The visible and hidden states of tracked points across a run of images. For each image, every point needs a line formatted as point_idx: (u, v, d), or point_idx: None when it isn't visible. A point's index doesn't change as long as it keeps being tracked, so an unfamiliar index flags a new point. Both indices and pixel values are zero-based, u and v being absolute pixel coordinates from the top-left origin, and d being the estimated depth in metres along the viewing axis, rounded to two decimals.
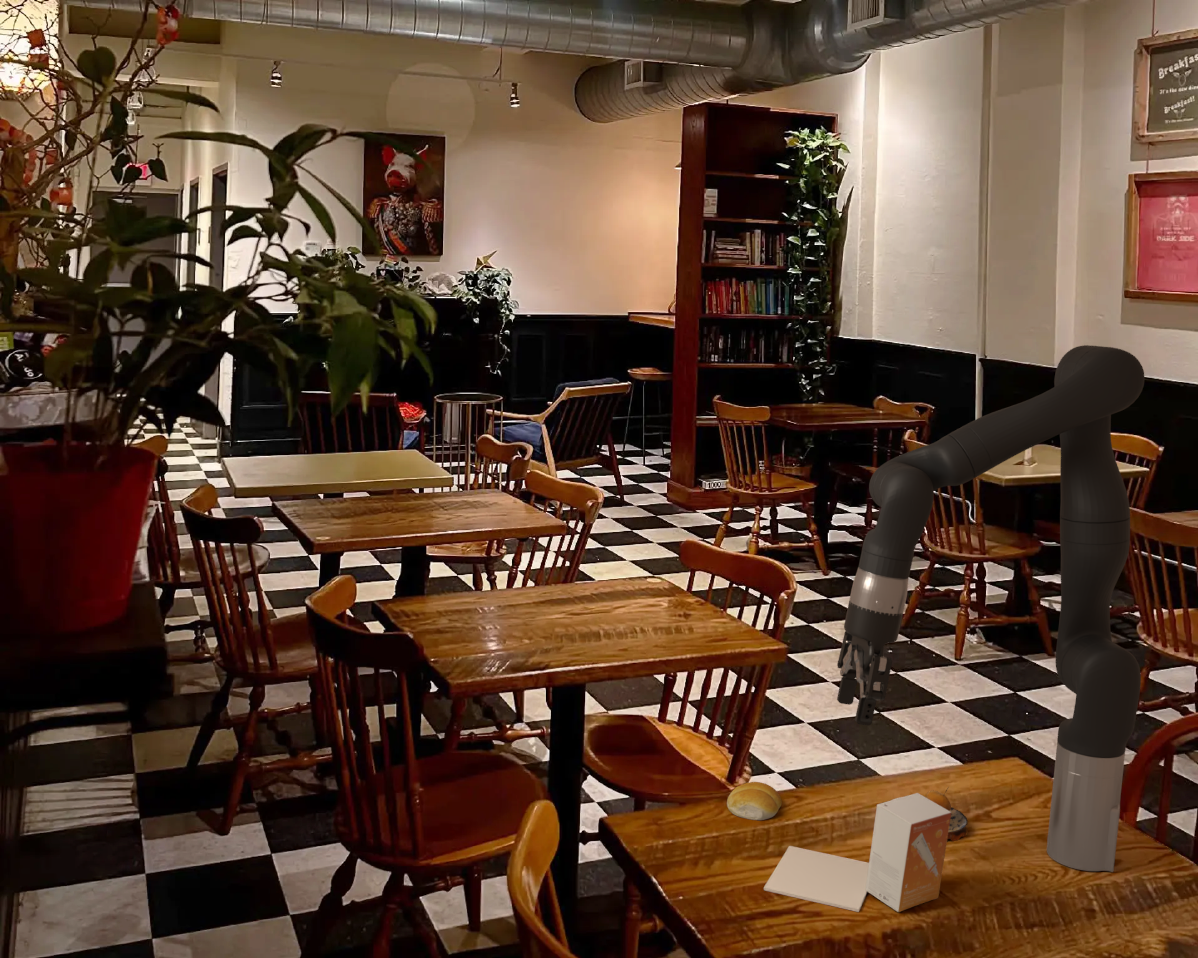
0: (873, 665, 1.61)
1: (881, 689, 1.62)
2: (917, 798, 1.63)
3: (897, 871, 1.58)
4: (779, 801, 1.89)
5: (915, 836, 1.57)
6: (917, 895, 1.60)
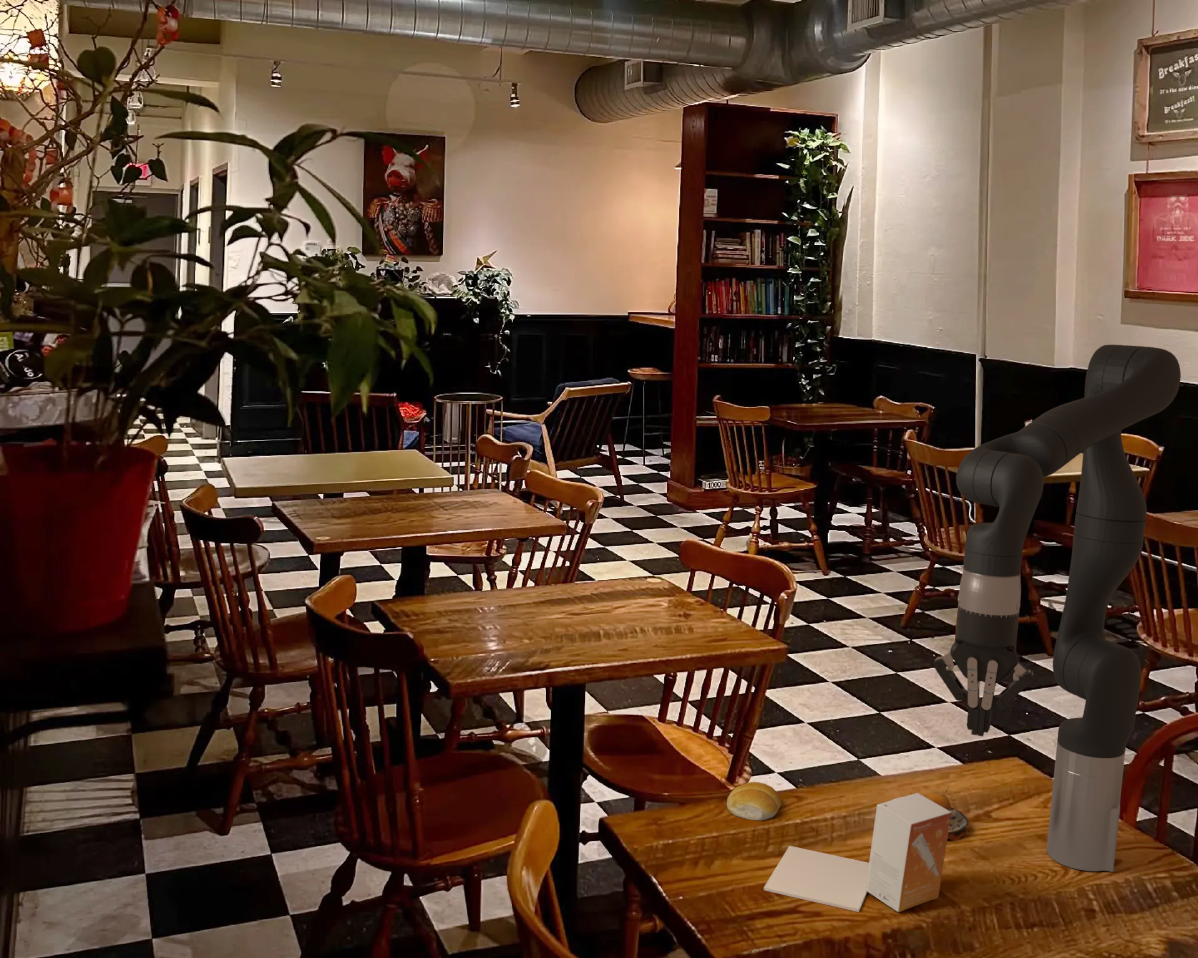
0: (1025, 684, 1.52)
1: None
2: (917, 798, 1.63)
3: (897, 871, 1.58)
4: (779, 801, 1.89)
5: (915, 836, 1.57)
6: (917, 895, 1.60)
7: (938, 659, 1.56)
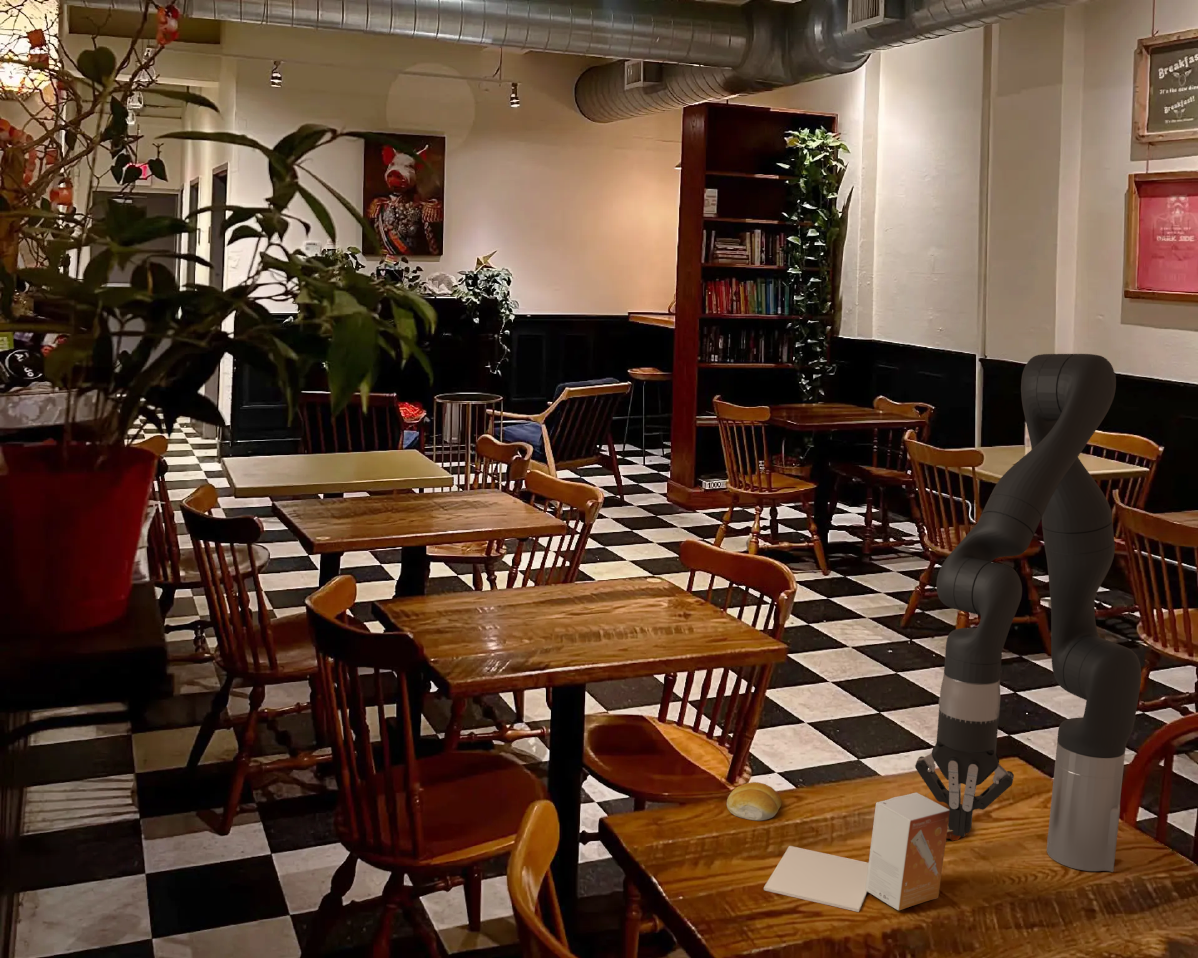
0: (1005, 787, 1.54)
1: None
2: (916, 797, 1.64)
3: (897, 869, 1.58)
4: (779, 801, 1.89)
5: (914, 833, 1.57)
6: (917, 894, 1.60)
7: (920, 760, 1.59)
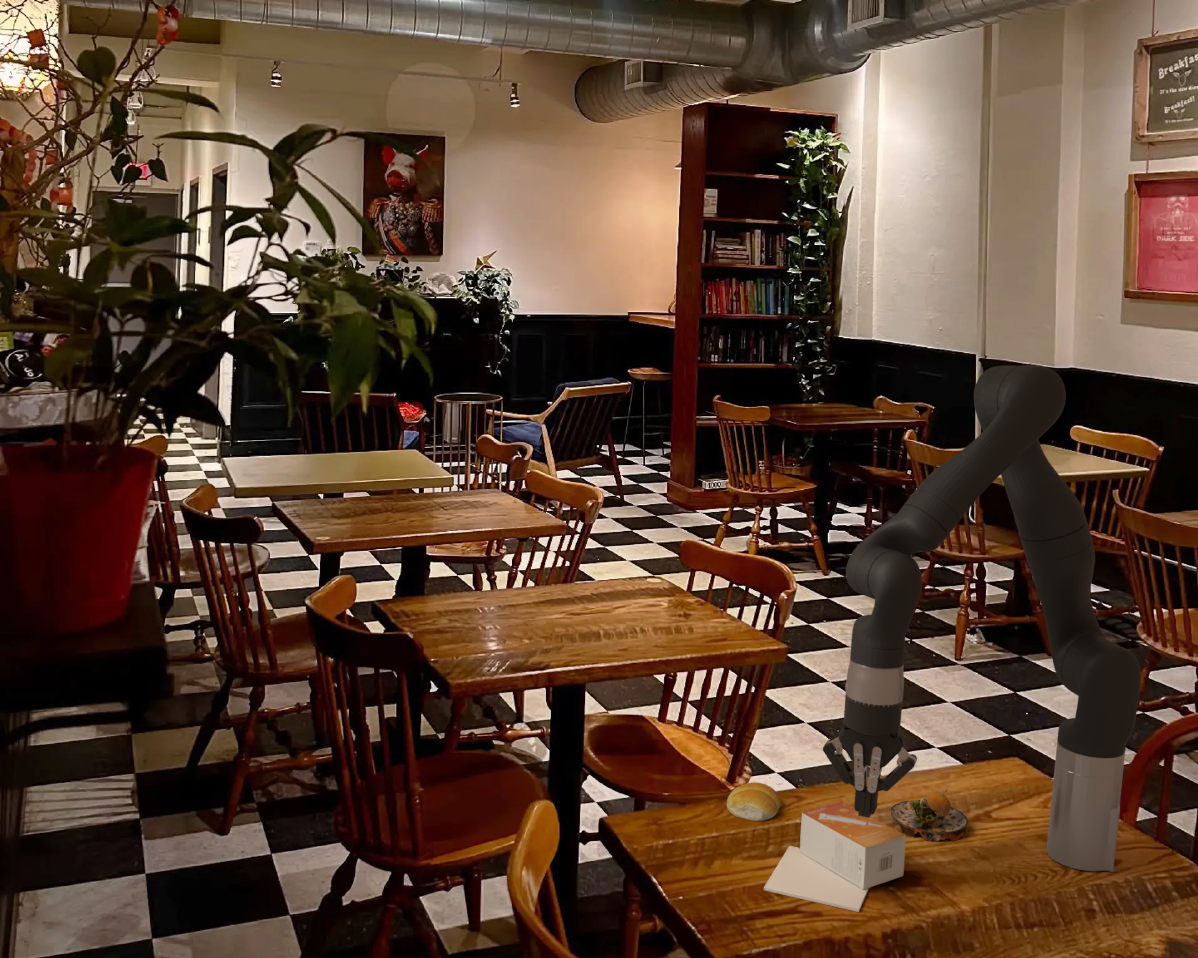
0: (908, 769, 1.59)
1: None
2: None
3: (836, 838, 1.67)
4: (779, 801, 1.89)
5: (817, 815, 1.72)
6: (874, 837, 1.65)
7: (827, 743, 1.64)
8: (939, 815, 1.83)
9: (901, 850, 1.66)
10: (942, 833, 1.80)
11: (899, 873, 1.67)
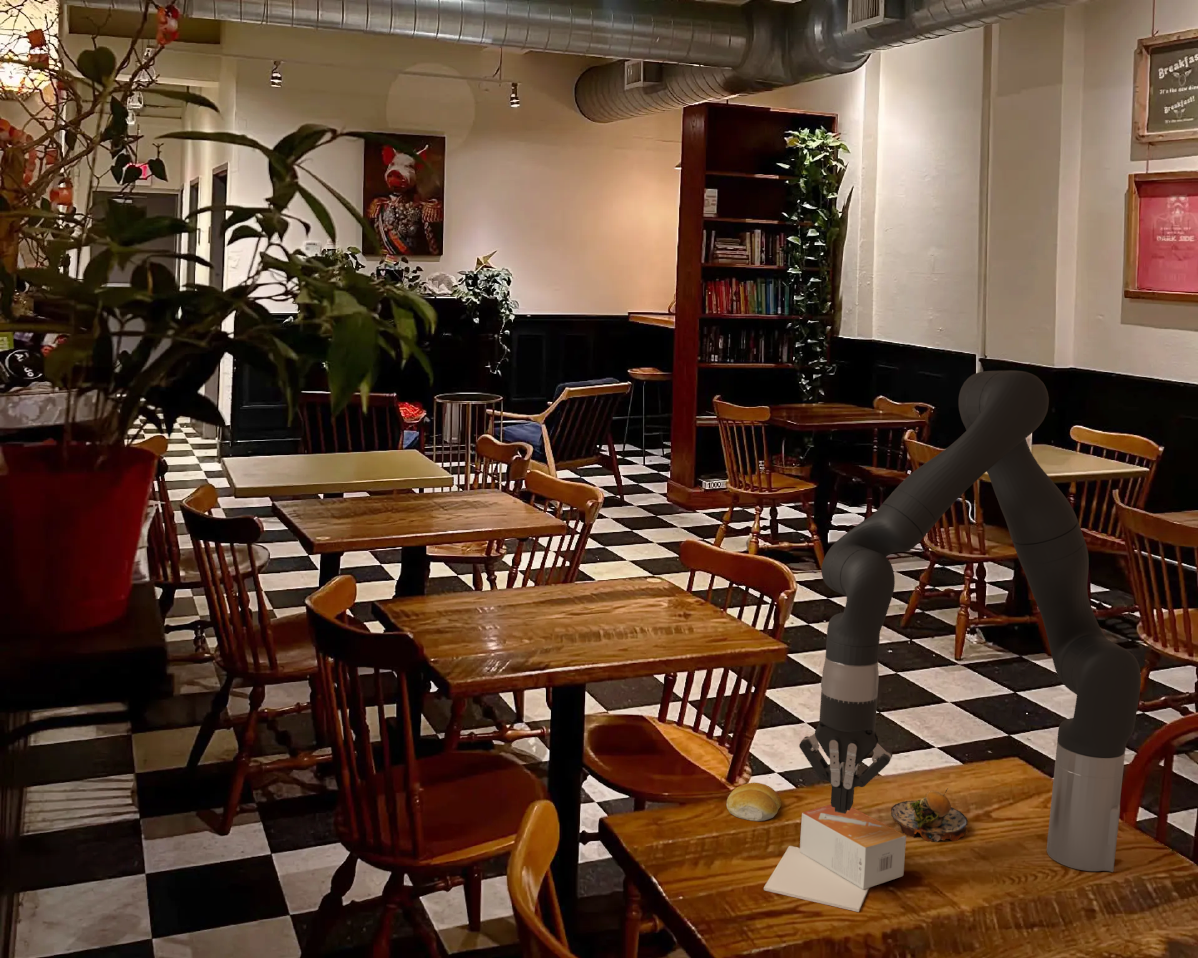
0: (883, 766, 1.60)
1: None
2: None
3: (836, 838, 1.67)
4: (779, 802, 1.89)
5: (817, 815, 1.72)
6: (874, 837, 1.65)
7: (804, 740, 1.65)
8: (939, 815, 1.83)
9: (901, 850, 1.66)
10: (942, 833, 1.80)
11: (899, 873, 1.67)
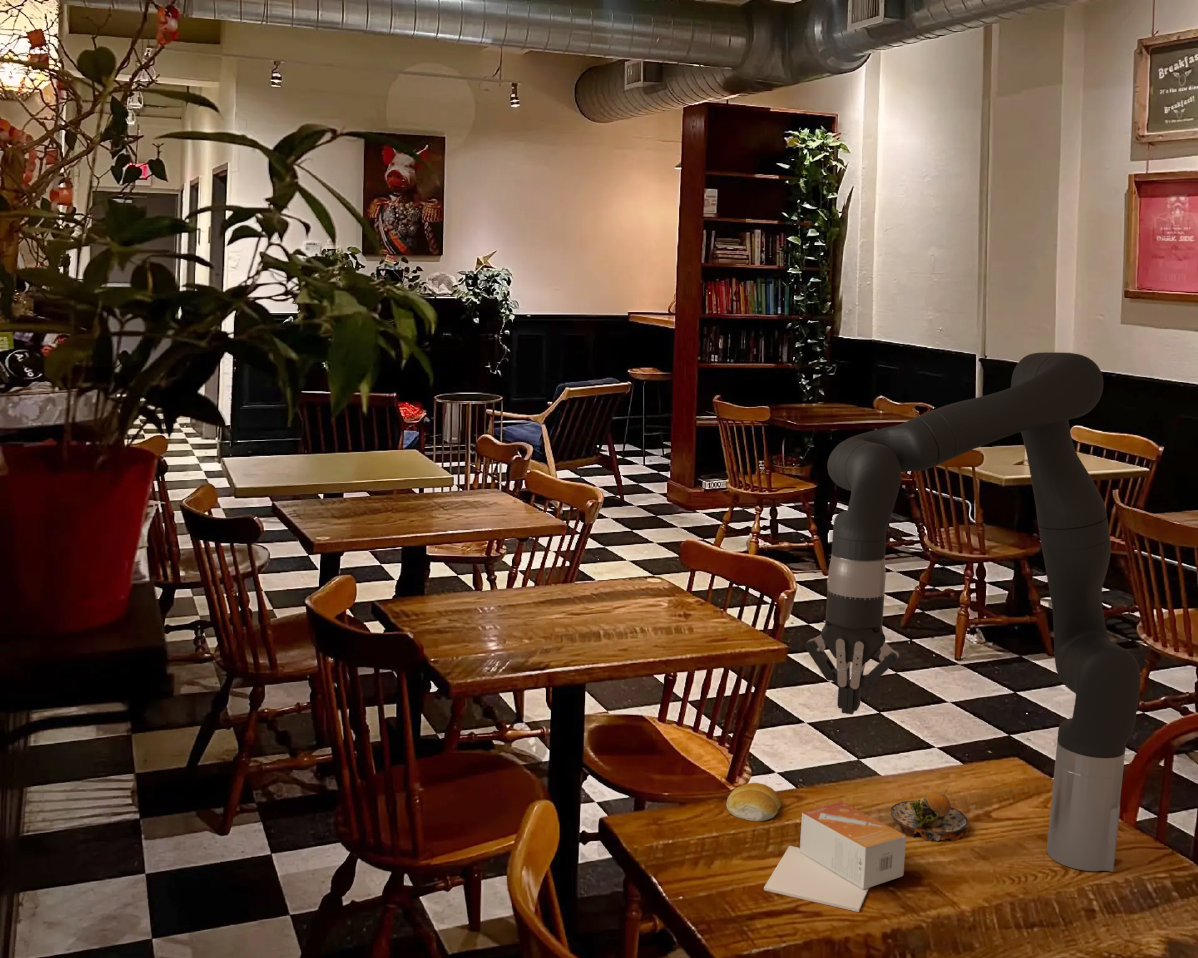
0: (890, 664, 1.58)
1: None
2: None
3: (836, 838, 1.67)
4: (779, 802, 1.89)
5: (817, 815, 1.72)
6: (874, 837, 1.65)
7: (810, 641, 1.63)
8: (939, 815, 1.83)
9: (901, 850, 1.66)
10: (942, 833, 1.80)
11: (899, 873, 1.67)
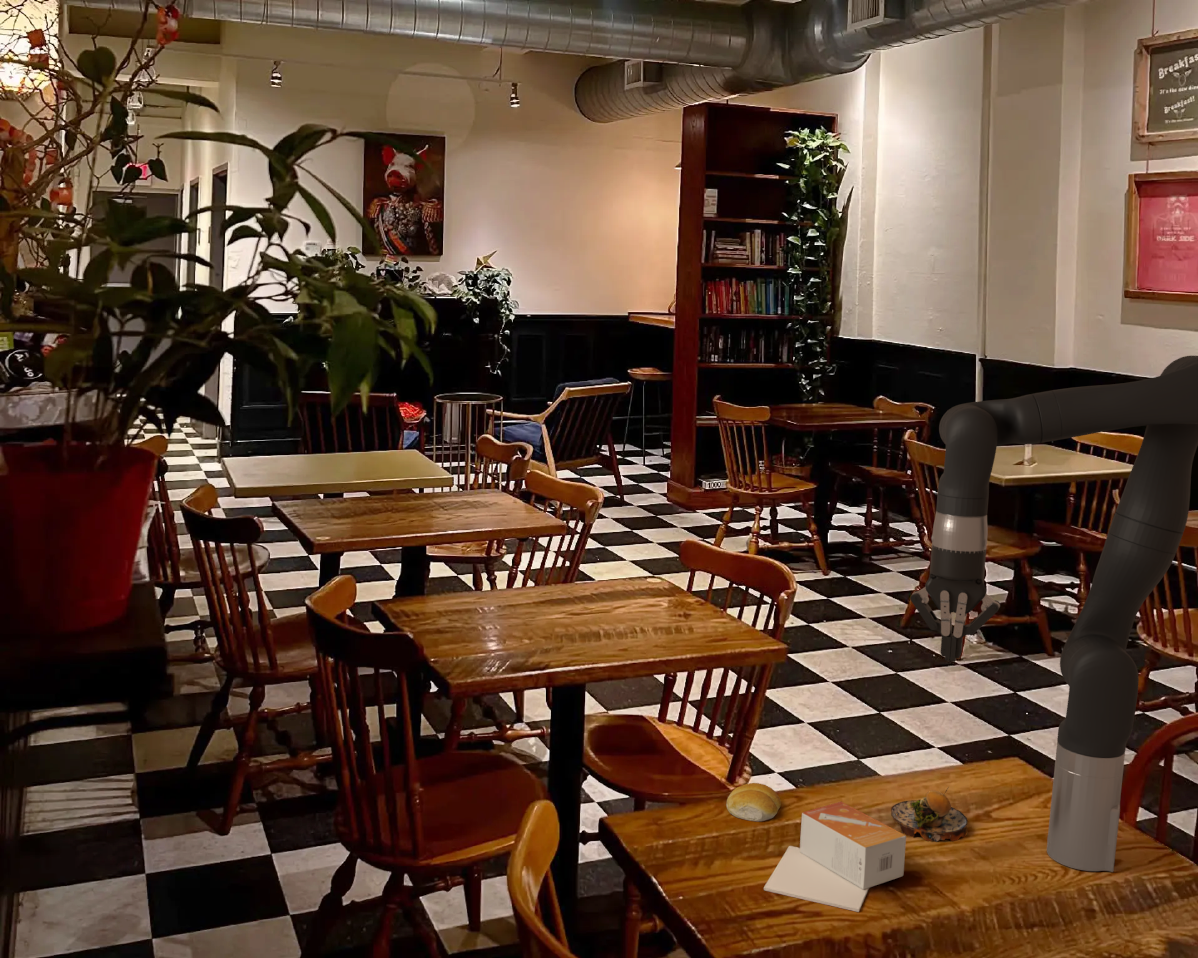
0: (992, 613, 1.70)
1: None
2: None
3: (836, 838, 1.67)
4: (778, 802, 1.89)
5: (817, 815, 1.72)
6: (874, 837, 1.65)
7: (914, 593, 1.74)
8: (939, 815, 1.83)
9: (901, 850, 1.66)
10: (942, 833, 1.80)
11: (899, 873, 1.67)
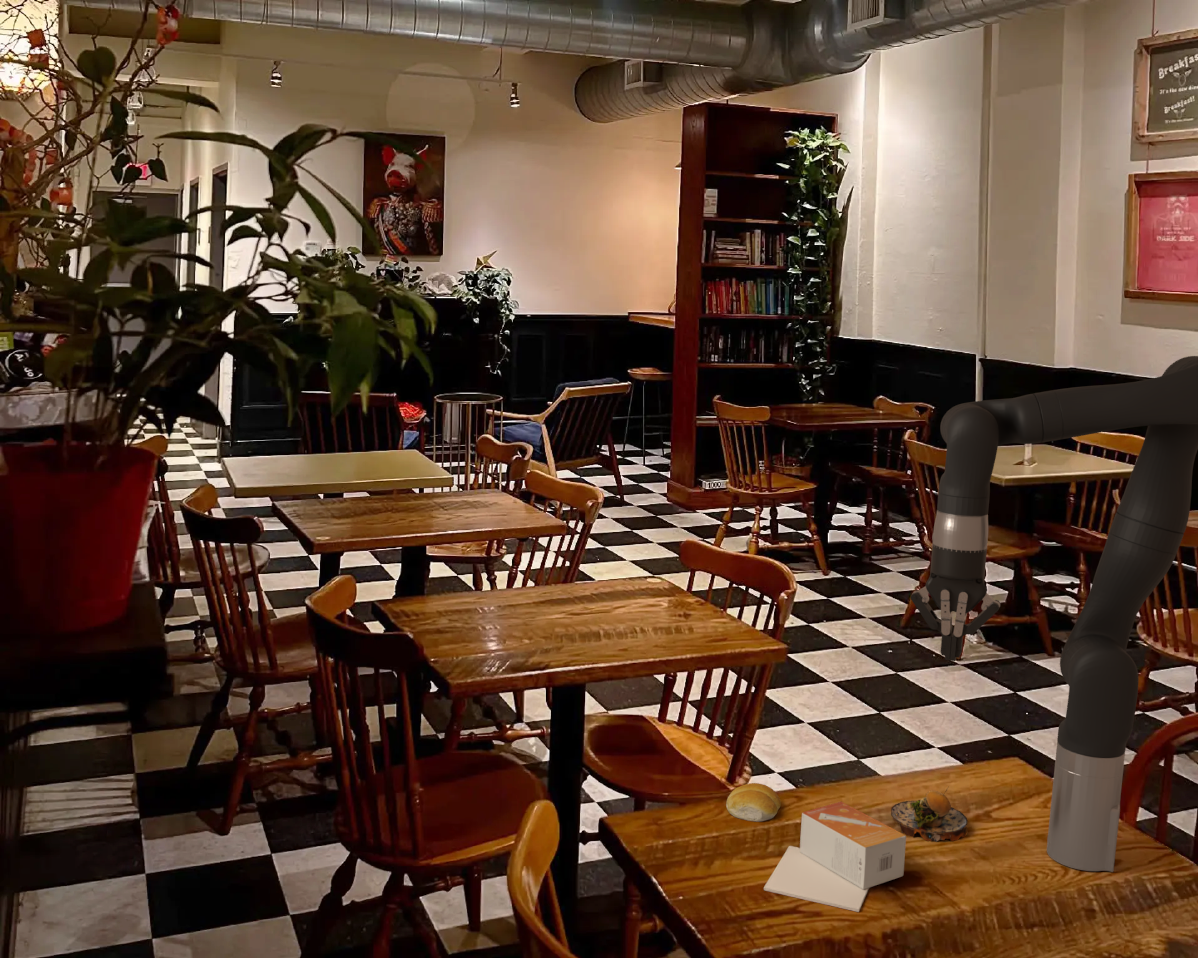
0: (992, 613, 1.70)
1: None
2: None
3: (836, 838, 1.67)
4: (778, 802, 1.89)
5: (817, 815, 1.72)
6: (874, 837, 1.65)
7: (915, 592, 1.74)
8: (939, 815, 1.83)
9: (901, 850, 1.66)
10: (942, 833, 1.80)
11: (899, 873, 1.67)
